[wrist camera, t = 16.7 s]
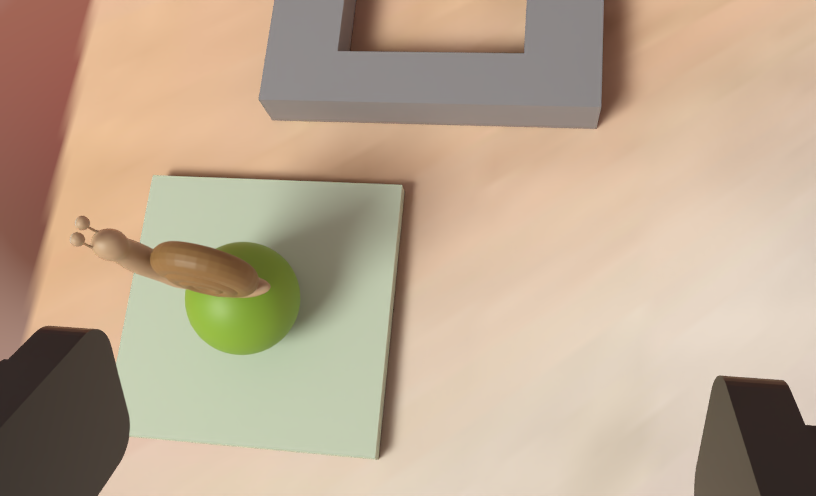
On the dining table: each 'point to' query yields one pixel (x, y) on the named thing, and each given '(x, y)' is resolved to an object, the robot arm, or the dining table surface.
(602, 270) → the dining table surface
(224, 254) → the snail figurine
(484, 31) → the dining table surface
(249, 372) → the green mat
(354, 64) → the gray square frame
